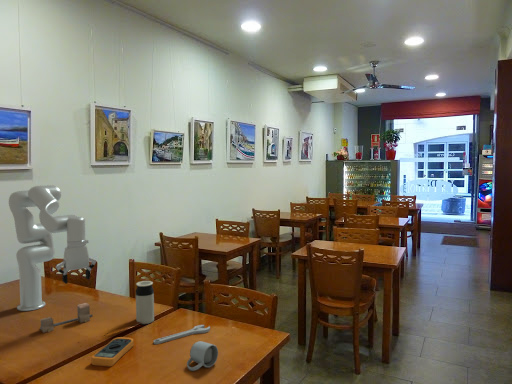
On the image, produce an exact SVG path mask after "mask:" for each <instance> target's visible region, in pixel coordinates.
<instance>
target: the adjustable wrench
mask: <svg viewBox="0 0 512 384" xmlns="http://www.w3.org/2000/svg"><path fill="white" fill-rule="evenodd" d="M210 331H211V326H210V325H209V326H208V327H205V324H198V325H196V326H195V325H194V327H193V328H191V329H188V330H185V331H181V332H178V333H174V334H171V335H167V336H163V337H159V338H156V339H154V340H153V344H154V345H159V344H163V343H166V342H170V341H173V340H177V339H180V338H183V337H187V336H190V335H196V334H207V333H208V332H210Z"/></svg>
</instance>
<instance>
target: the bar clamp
mask: <svg viewBox="0 0 512 384" xmlns="http://www.w3.org/2000/svg"><path fill="white" fill-rule="evenodd" d="M92 317H93V314H91V313H90V318H92ZM76 321H77V322H78V317H76V318H72V319H68V320H64V321H59V322H56V323H54V318H52V316H49V317H45V318H40V327H39V330H40V332H42V333H43V334H44V333H45V334H46V333H51V332H52V331H54V329H55V327H57V326H60V325H64V324H65V325H66V324H69V323H73V322H76Z"/></svg>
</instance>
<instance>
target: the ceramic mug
mask: <svg viewBox="0 0 512 384" xmlns="http://www.w3.org/2000/svg"><path fill="white" fill-rule="evenodd" d="M189 350H190V352H189V357H190V358H189V359H188V360H187V362H186V367H187V369H188V370H189V371H191V372H196V371H197V370H199V369H200V368H202V367H204V368H211V367H213V366H214V365H215V364H216V362H217V360H218V358H219V349H218V347H217V345H215V344H212V343H209V342H205V341H201V340H200V341H199V340H198V341H195V342H194V343H193V344H192V345H191V347H190V349H189ZM192 362H194V363H197V365H195V366H191V365H190V364H191V363H192Z"/></svg>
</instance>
